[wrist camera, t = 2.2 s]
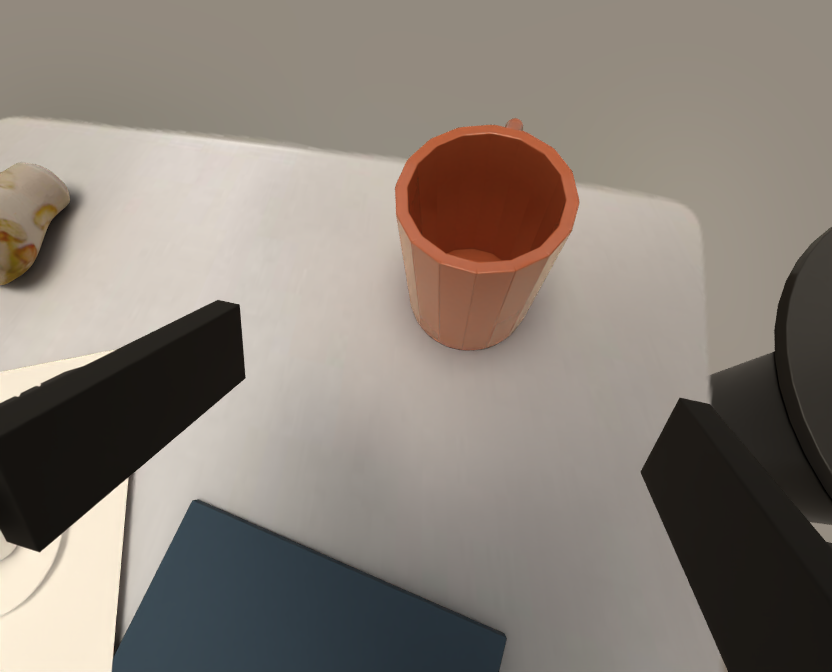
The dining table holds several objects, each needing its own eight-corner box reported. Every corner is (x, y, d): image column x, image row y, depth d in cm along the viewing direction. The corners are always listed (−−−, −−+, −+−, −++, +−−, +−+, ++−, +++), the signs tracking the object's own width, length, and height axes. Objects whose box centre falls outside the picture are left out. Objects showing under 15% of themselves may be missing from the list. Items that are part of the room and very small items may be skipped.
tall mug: (508, 366, 26) (554, 296, 16) (394, 329, 28) (368, 243, 17) (547, 231, 30) (606, 101, 19) (444, 204, 31) (447, 70, 21)
